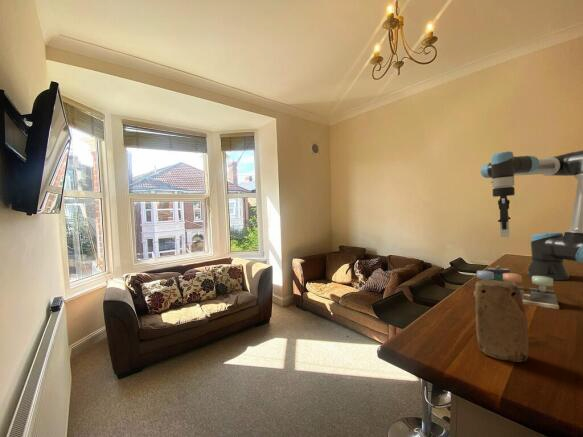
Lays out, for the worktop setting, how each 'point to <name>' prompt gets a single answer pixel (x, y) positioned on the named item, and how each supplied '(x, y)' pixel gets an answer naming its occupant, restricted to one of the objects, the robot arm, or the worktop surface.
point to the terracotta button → (512, 278)
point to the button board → (527, 301)
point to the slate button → (485, 275)
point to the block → (501, 321)
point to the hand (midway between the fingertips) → (505, 235)
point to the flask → (498, 273)
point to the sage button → (542, 282)
